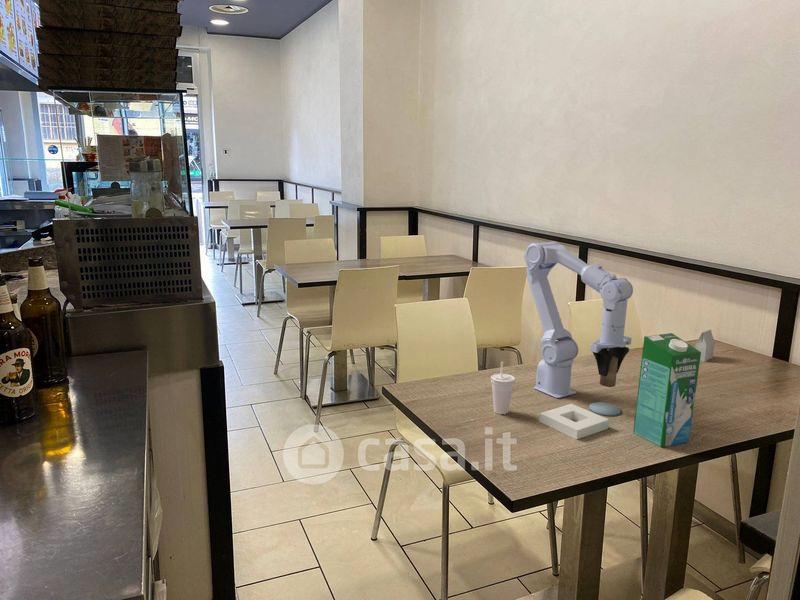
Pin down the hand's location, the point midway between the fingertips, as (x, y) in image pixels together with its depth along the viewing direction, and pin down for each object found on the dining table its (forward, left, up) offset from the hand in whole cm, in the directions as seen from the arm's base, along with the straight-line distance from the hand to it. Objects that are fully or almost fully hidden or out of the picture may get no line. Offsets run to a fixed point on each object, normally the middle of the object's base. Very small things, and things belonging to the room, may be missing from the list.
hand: (608, 373), depth 161 cm
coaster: (0, 0, -10) cm, 10 cm away
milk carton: (+18, -2, -11) cm, 21 cm away
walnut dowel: (0, 0, -3) cm, 3 cm away
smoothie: (-14, -25, -11) cm, 31 cm away
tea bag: (-11, +68, -11) cm, 70 cm away
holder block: (+2, -15, -10) cm, 18 cm away
